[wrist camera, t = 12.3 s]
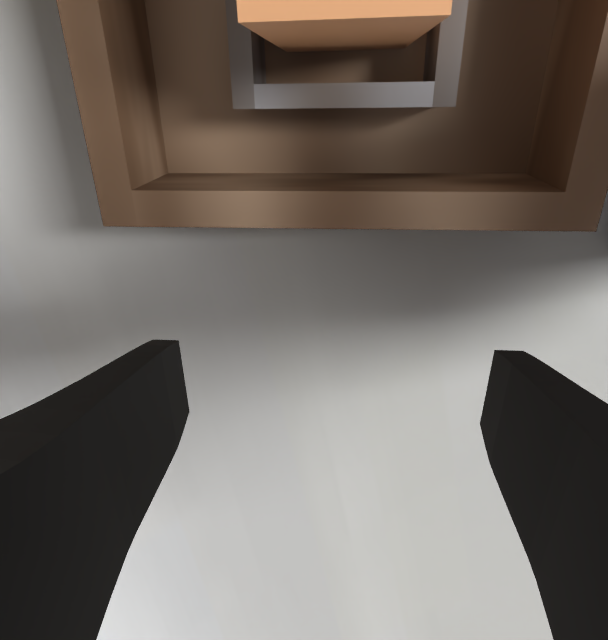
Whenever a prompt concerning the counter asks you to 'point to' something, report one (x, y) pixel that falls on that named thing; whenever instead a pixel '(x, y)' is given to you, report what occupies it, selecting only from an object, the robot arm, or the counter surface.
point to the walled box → (344, 119)
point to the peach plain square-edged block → (341, 22)
